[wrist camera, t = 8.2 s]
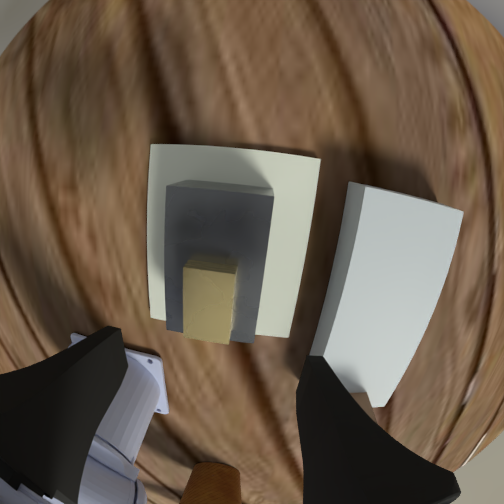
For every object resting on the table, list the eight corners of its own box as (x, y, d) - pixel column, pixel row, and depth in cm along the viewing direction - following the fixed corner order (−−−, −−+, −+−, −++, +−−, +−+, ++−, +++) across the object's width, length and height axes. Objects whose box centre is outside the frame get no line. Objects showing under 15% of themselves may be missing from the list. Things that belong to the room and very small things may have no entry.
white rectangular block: (300, 382, 21) (307, 445, 14) (348, 181, 15) (395, 196, 9) (375, 382, 21) (395, 438, 14) (438, 202, 15) (500, 226, 9)
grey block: (182, 300, 18) (161, 339, 14) (187, 179, 15) (158, 188, 11) (256, 311, 18) (252, 354, 14) (272, 188, 15) (275, 199, 11)
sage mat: (153, 314, 19) (150, 317, 19) (154, 144, 15) (150, 144, 15) (288, 333, 19) (288, 337, 19) (319, 159, 15) (320, 159, 15)
